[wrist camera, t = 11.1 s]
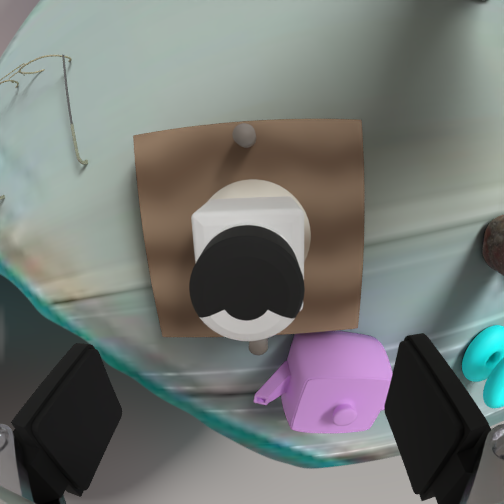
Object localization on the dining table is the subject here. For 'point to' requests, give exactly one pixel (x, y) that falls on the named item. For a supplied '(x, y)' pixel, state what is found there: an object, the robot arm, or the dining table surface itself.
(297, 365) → the teapot
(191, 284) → the medicine bottle
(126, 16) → the dining table surface
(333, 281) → the stand
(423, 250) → the dining table surface
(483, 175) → the dining table surface
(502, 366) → the donuts
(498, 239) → the brown rusty cylinder
